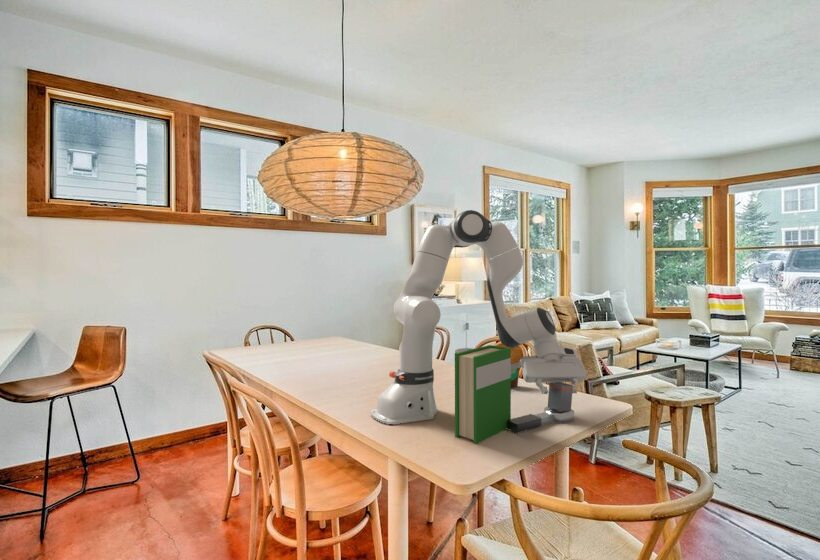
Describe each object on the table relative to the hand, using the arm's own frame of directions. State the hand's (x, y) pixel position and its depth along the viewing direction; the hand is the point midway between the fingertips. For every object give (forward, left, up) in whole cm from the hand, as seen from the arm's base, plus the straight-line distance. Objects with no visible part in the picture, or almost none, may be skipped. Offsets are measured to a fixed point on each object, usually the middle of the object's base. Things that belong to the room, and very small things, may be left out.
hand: (559, 392), depth 139 cm
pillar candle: (+2, +50, -8) cm, 50 cm away
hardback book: (-28, +5, -8) cm, 29 cm away
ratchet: (-8, +1, -8) cm, 11 cm away
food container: (+11, +37, -8) cm, 39 cm away
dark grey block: (0, +1, -5) cm, 5 cm away
